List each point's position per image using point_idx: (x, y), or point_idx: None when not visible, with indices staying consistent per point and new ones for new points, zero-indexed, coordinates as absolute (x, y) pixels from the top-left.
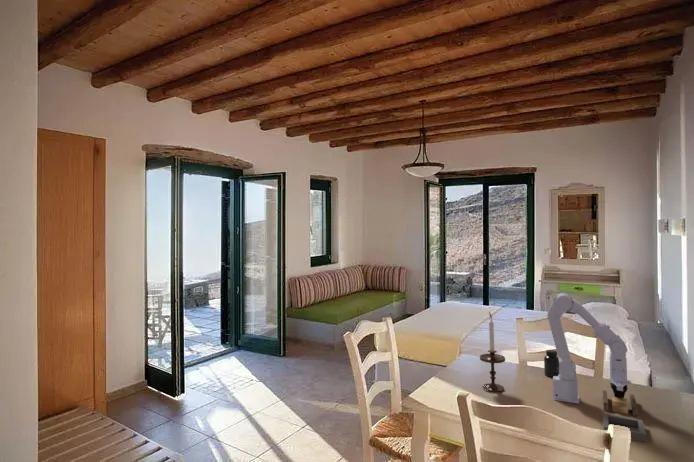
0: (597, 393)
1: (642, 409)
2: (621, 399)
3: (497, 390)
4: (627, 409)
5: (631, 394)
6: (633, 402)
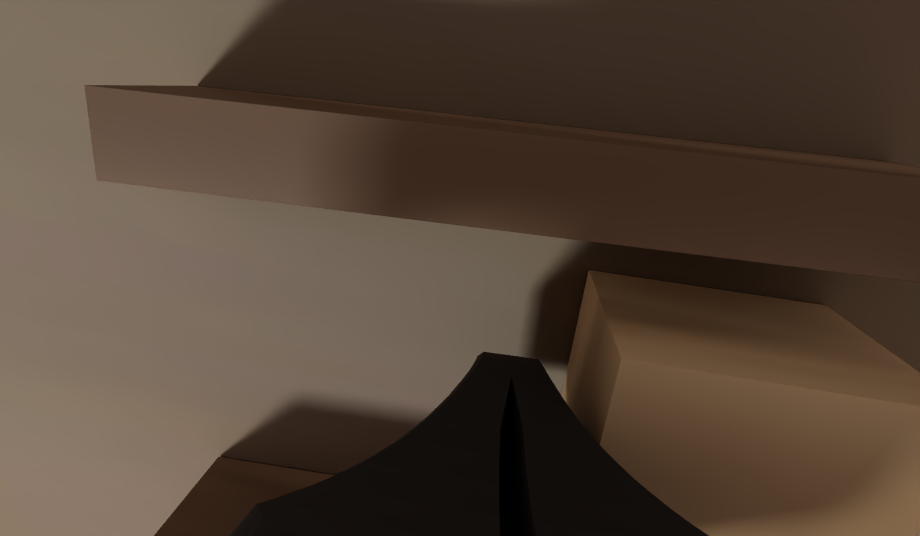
0: (93, 527)
1: (525, 5)
2: (704, 484)
3: None
4: (869, 348)
5: (92, 142)
6: (656, 211)
